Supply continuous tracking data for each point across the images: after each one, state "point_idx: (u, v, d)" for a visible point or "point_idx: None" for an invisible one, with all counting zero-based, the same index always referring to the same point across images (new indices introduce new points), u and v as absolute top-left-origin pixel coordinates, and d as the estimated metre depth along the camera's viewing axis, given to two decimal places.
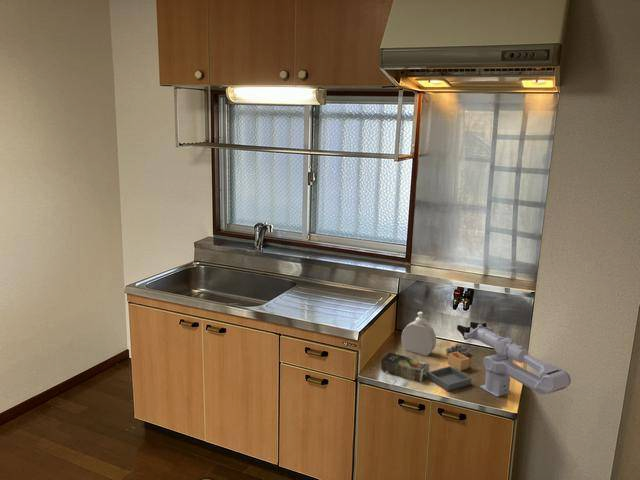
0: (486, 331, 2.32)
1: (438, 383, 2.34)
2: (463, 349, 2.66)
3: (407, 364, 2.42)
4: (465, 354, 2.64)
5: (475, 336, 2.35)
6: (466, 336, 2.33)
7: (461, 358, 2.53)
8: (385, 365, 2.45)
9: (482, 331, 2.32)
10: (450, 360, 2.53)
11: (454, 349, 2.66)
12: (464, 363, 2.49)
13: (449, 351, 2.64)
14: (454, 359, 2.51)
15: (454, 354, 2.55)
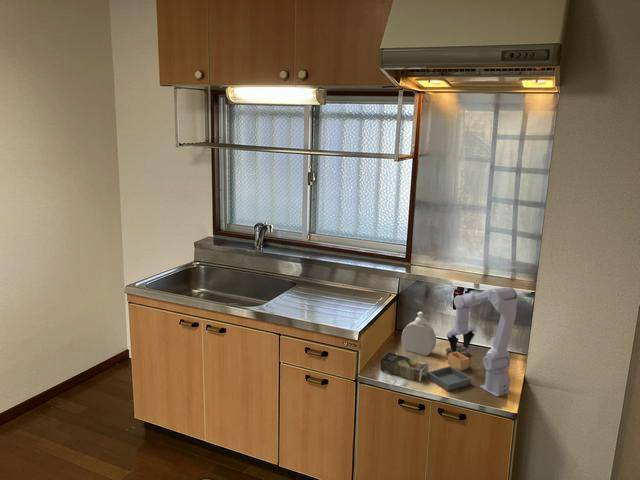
0: None
1: (438, 383, 2.34)
2: (463, 349, 2.66)
3: (406, 364, 2.42)
4: (465, 354, 2.64)
5: (457, 330, 2.47)
6: (449, 334, 2.45)
7: (461, 358, 2.53)
8: (384, 365, 2.45)
9: None
10: (450, 360, 2.53)
11: None
12: (464, 363, 2.49)
13: (449, 351, 2.64)
14: (454, 359, 2.51)
15: (454, 354, 2.55)
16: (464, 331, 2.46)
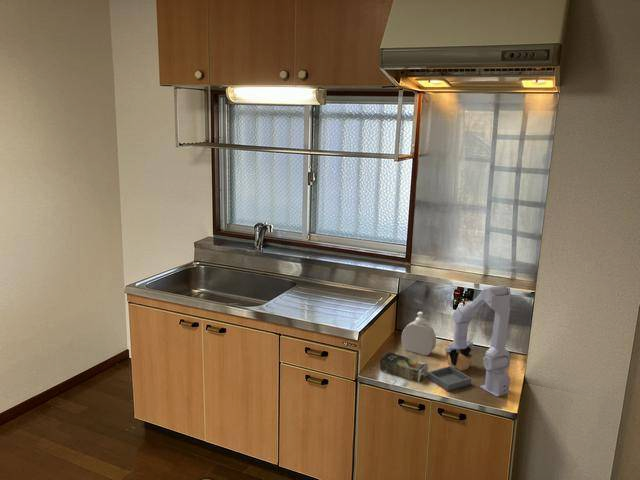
0: None
1: (438, 383, 2.34)
2: None
3: (405, 364, 2.42)
4: None
5: (456, 345, 2.48)
6: (447, 348, 2.47)
7: (461, 358, 2.53)
8: (384, 365, 2.45)
9: None
10: (450, 360, 2.53)
11: None
12: (464, 363, 2.49)
13: None
14: None
15: None
16: (463, 346, 2.47)
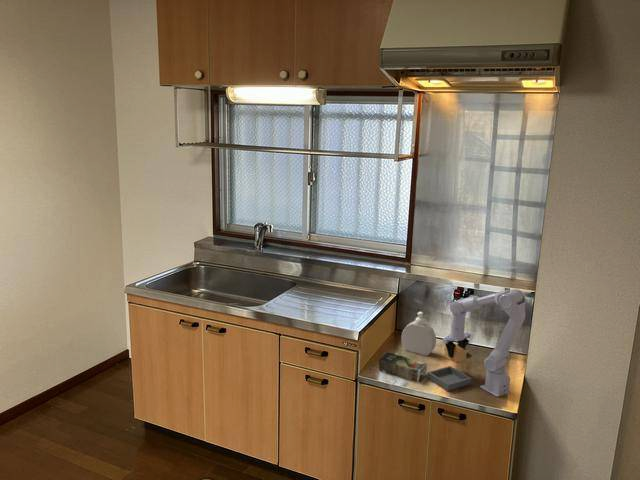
0: None
1: (438, 383, 2.34)
2: None
3: (404, 364, 2.42)
4: None
5: (453, 337, 2.40)
6: (444, 340, 2.38)
7: (458, 350, 2.45)
8: (383, 365, 2.45)
9: None
10: (447, 352, 2.45)
11: None
12: (462, 356, 2.40)
13: None
14: None
15: None
16: (460, 337, 2.39)
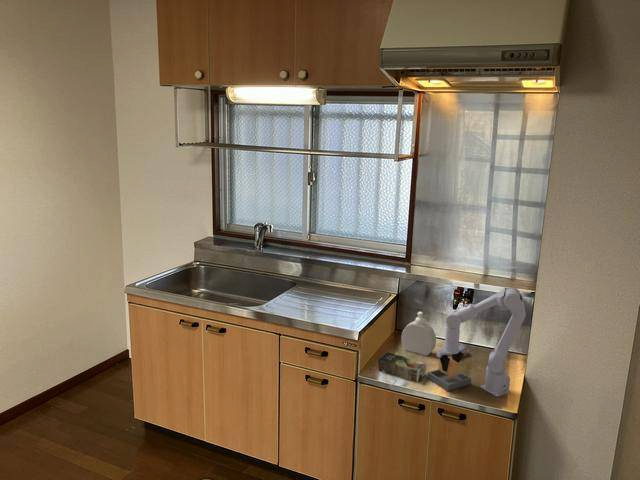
0: None
1: (438, 383, 2.34)
2: None
3: (404, 364, 2.42)
4: (464, 354, 2.64)
5: (447, 350, 2.33)
6: (438, 353, 2.31)
7: (452, 363, 2.38)
8: (382, 365, 2.45)
9: None
10: (441, 366, 2.38)
11: None
12: (456, 370, 2.33)
13: None
14: None
15: None
16: (454, 351, 2.32)
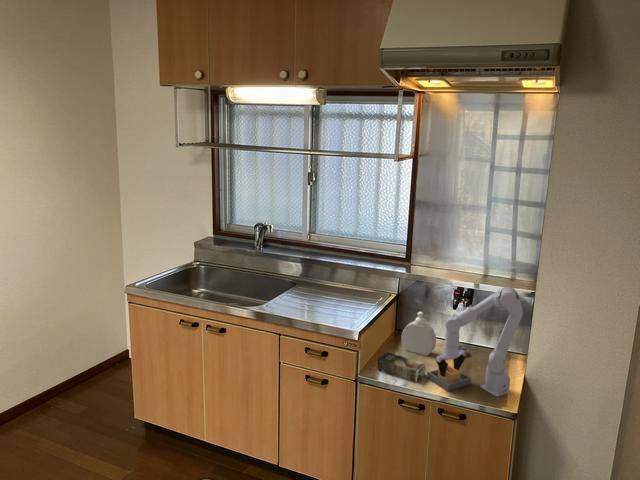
0: None
1: (438, 383, 2.34)
2: (463, 349, 2.66)
3: (403, 364, 2.42)
4: None
5: (447, 355, 2.33)
6: (438, 358, 2.32)
7: (452, 371, 2.39)
8: (381, 364, 2.45)
9: None
10: None
11: None
12: (455, 377, 2.34)
13: None
14: None
15: None
16: (454, 355, 2.33)
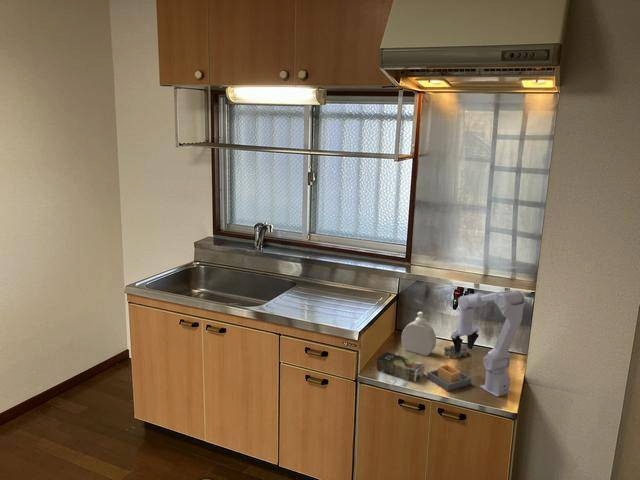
0: None
1: (438, 383, 2.34)
2: (463, 349, 2.66)
3: (402, 364, 2.42)
4: (463, 354, 2.64)
5: (461, 331, 2.43)
6: (453, 334, 2.42)
7: (452, 371, 2.39)
8: (380, 364, 2.46)
9: None
10: (440, 374, 2.38)
11: (453, 348, 2.67)
12: (455, 377, 2.34)
13: (447, 349, 2.66)
14: (444, 373, 2.36)
15: (444, 367, 2.41)
16: (468, 332, 2.42)
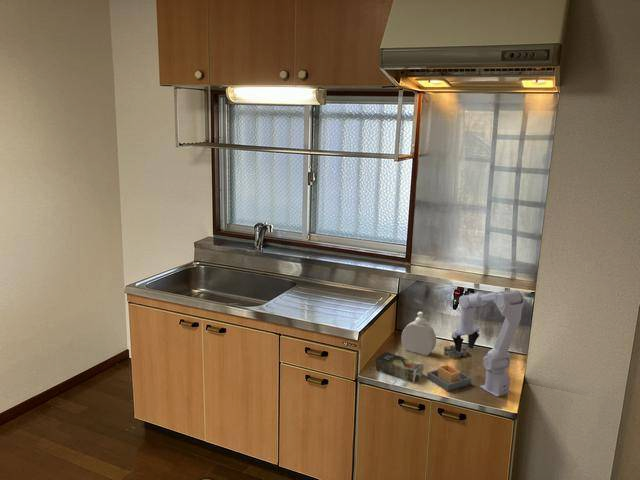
0: None
1: (438, 383, 2.34)
2: (462, 349, 2.66)
3: (401, 364, 2.42)
4: (463, 354, 2.64)
5: (462, 331, 2.44)
6: (454, 334, 2.42)
7: (452, 371, 2.39)
8: (379, 364, 2.46)
9: None
10: (440, 374, 2.38)
11: (453, 348, 2.67)
12: (455, 377, 2.34)
13: (447, 349, 2.66)
14: (444, 373, 2.36)
15: (444, 367, 2.41)
16: (469, 331, 2.43)
